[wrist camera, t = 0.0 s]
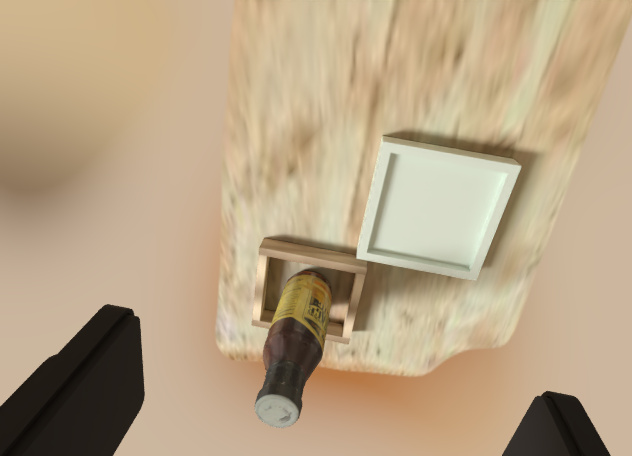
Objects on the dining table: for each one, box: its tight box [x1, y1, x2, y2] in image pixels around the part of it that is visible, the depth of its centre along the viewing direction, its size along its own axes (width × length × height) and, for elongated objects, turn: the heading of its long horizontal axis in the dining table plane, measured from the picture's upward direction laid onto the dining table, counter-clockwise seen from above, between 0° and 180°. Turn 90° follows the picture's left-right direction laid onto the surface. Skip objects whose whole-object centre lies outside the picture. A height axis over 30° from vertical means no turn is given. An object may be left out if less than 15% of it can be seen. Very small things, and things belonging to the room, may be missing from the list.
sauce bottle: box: [255, 271, 332, 428], centre depth 44 cm, size 7×6×20 cm
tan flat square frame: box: [252, 238, 367, 344], centre depth 52 cm, size 12×13×2 cm
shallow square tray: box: [356, 136, 522, 281], centre depth 45 cm, size 14×14×2 cm
